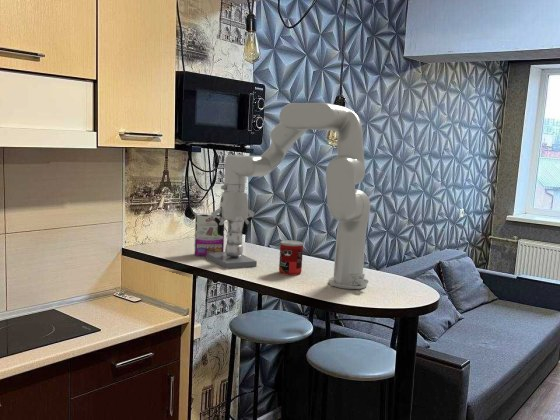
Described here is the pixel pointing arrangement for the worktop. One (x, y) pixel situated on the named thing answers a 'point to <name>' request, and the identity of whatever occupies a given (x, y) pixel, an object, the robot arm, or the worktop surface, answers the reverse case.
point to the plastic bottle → (235, 237)
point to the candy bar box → (207, 235)
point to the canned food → (291, 257)
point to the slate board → (231, 260)
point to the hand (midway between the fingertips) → (232, 234)
